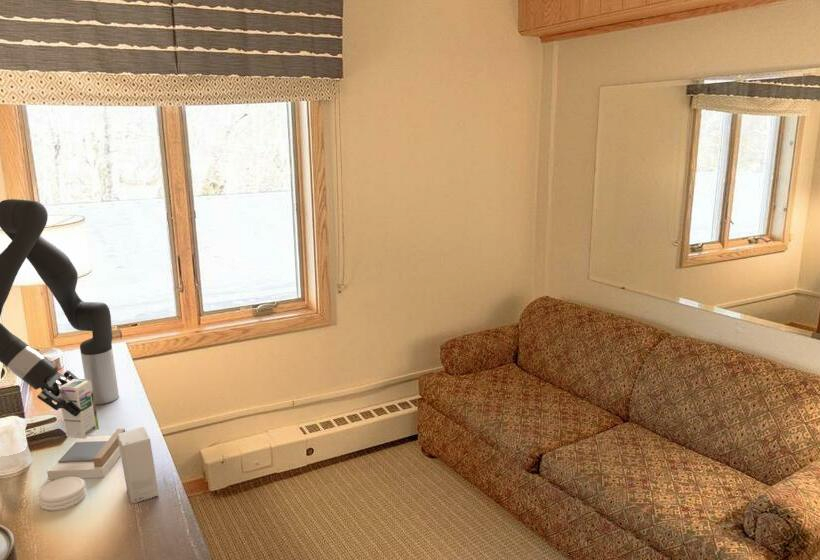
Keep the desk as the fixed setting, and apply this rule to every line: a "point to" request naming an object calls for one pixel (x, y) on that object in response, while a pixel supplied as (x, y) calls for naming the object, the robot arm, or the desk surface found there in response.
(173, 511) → the desk surface
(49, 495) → the coaster
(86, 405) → the syrup box
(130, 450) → the skincare box
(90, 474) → the display plinth
